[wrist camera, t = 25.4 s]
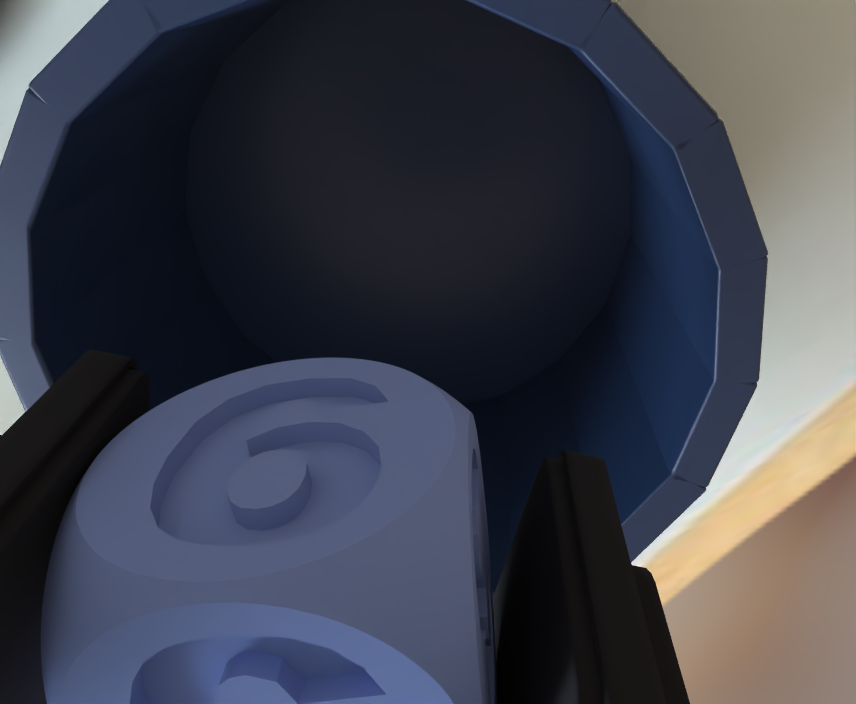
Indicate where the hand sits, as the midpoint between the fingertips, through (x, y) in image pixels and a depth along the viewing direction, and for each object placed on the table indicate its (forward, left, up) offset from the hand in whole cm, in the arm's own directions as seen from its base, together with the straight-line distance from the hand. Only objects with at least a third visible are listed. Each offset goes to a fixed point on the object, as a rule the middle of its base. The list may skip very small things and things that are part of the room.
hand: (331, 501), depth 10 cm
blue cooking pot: (0, 0, -12) cm, 12 cm away
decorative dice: (0, 0, -1) cm, 1 cm away
